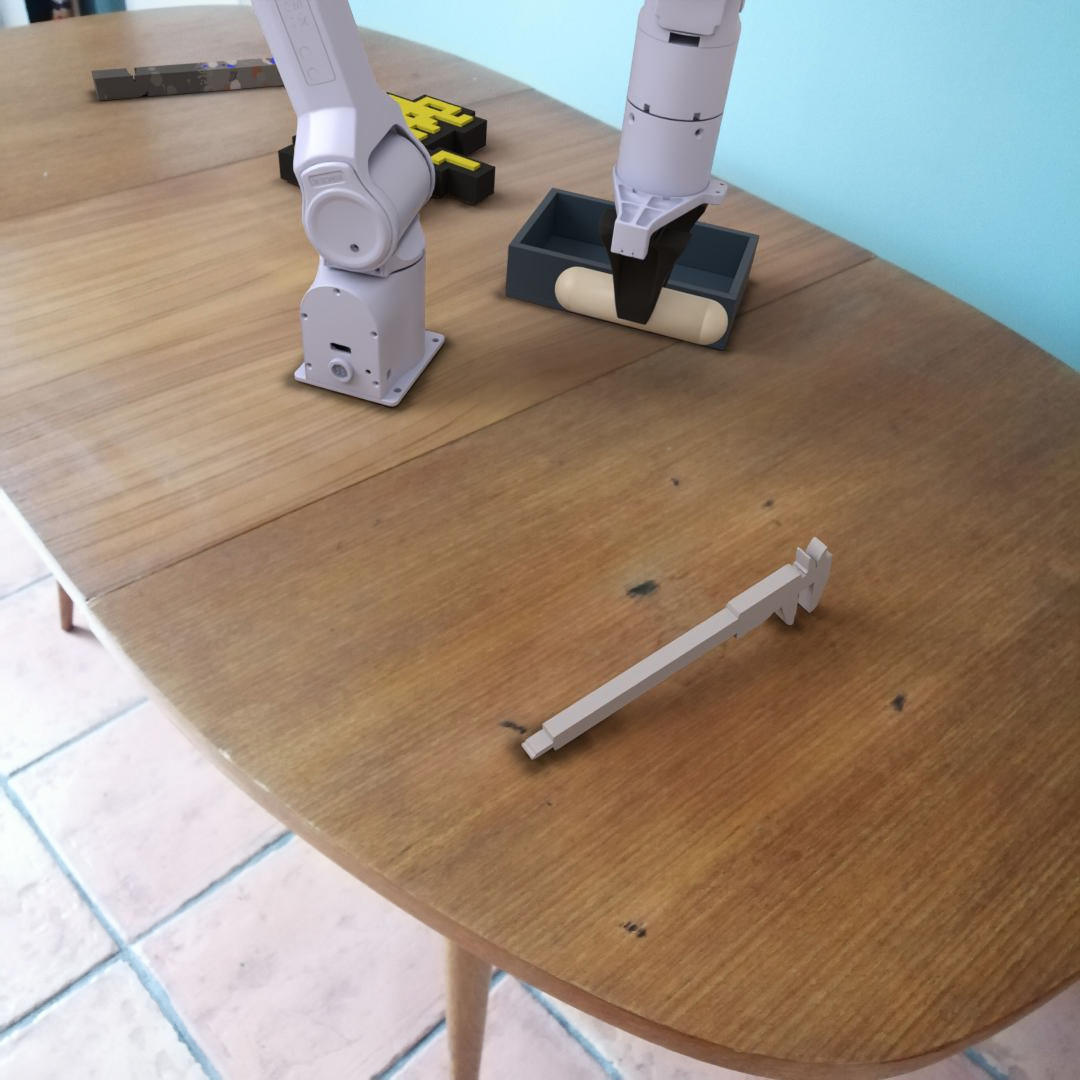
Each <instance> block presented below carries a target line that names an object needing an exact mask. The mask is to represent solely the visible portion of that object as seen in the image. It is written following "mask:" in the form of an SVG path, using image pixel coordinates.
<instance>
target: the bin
mask: <svg viewBox="0 0 1080 1080" xmlns="http://www.w3.org/2000/svg"><path fill="white" fill-rule="evenodd" d="M607 208H611V209H616V207H615V201H614V200H613V201H612V200H608V199H603V198H600V197H595V196H591V195H587V194H582V193H578V192H574V191H570V190H565V189H562V188H561V189H560V188H556V187H551V189H550V190H549V191H548V192H547V194H546V195H545V196H544V198H543V199H542V201H540V203H539V204H538V205H537V207H535V210H534V211H533V212H532V213H531V215H530V216H529V218H528V219H527V220H526V221H525V223H524V224H523V225H522V227H521V228H520V229H519V231H518V232H517V233H516V235H515V236H514V237H513V239H512V240H511V241H510V243H509V244H508V246H507V247H508V248H507V260H506V263H507V264H506V276H505V278H506V279H505V292H504V296H506V297H509V298H513V299H516V300H521V301H525V302H529V303H532V304H536V305H540V306H545V307H548V308H553V309H556V310H560V311H564V312H569V313H572V314H577V315H581V316H583V317H584V316H585V317H588V318H592V319H596V320H600V321H605V322H608V323H612V324H616V325H620V326H624V327H628V328H631V329H635V330H640V331H643V332H644V331H645V332H648V333H652V334H656V335H660V336H664V337H668V338H672V339H676V340H679V341H683V342H688V341H685V340H681V339H677V338H673V337H669V336H665V335H661V334H657V333H654V332H650V331H646V330H642V329H638V328H634V327H630V326H627V325H623V324H619V323H615V322H611V321H607V320H603V319H599V318H596V317H592V316H588V315H584V314H580V313H576V312H572V311H569V310H567V309H565V308H564V307H563V306H562V305H561V304H560V303H559V302H558V300H557V298H556V294H555V284H556V281H557V279H558V277H559V276H560V275H561V273H562V272H564V271H565V270H567V269H568V268H571V267H583V268H587V269H591V270H595V271H599V272H603V273H607V274H611V275H612V269H611V264H610V260H609V257H608V254H607V251H606V248H605V246H604V244H603V242H602V240H601V238H600V236H599V222H600V218H601V216H602V215H603V213H604V212H605V210H606V209H607ZM689 233H692V234H693V236H692V238H691V240H690V242H689V244H688V246H687V247H686V249H685V250H684V252H683V253H682V254H681V255H680V257H679V258H678V259H677V260H676V262H675V265H674V268H673V270H672V273H671V275H670V278H669V280H668V283H667V285H666V287H665V288H667V289H671V290H675V291H679V292H683V293H687V294H691V295H695V296H699V297H703V298H707V299H711V300H714V301H716V302H718V303H719V304H721V305H722V306H723V308H724V309H725V311H726V313H727V317H728V325H727V329H726V332H725V333H724V335H723V336H722V337H721V338H720V339H719V340H718V341H716V342H714V343H712V344H708V345H701V344H698V345H700V346H703V347H707V348H712V349H715V350H719V351H724V350H725V347H726V344H727V341H728V338H729V336H730V333H731V330H732V327H733V324H734V321H735V318H736V316H737V313H738V310H739V308H740V304H741V302H742V299H743V297H744V294H745V291H746V289H747V286H748V284H749V283H748V282H749V279H750V275H751V272H752V266H753V263H754V259H755V254H756V251H757V248H758V244H759V239H760V234H757V233H756V234H755V233H753V232H748V231H743V230H738V229H734V228H730V227H725V226H722V225H717V224H713V223H709V222H704V221H699V220H698V221H697V222H696V223H695V224H694V226H693V227H692V229H691V230H690V232H689ZM688 343H689V342H688ZM690 344H693V343H692V342H690ZM694 344H695V345H697V344H696V343H694Z"/></svg>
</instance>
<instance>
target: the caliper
mask: <svg viewBox="0 0 1080 1080" xmlns="http://www.w3.org/2000/svg"><path fill="white" fill-rule="evenodd" d="M832 563H833V554H832V553H831V552H830V551H829V550H828V546H827V545H826V544H824V543H823V542H822V541H821V540H820V539H819V538H818V537H816V536H813V538H812V539H811V540H810V541H809V543H808V545H807V547H806V549H805V550H804V549H802V548H801V547H800V546H797V548H796V552H795V561H794V562H793V564H790V563H786V564H785V565H783V566H781V567H780V568H779V569H777V570H776V571H774V572H772V573H771V574H769V575H768V576H766V577H765V578H763V579H761V580H759V581H758V582H757V583H755V584H754V585H752V586H750V587H749V588H748V589H746V590H744V591H743V592H741V593H739V594H738V595H737V596H735V597H734V598H732V599H731V600H729V601H728V602H727V603H726V605H725V608H723V609H721V610H720V611H718V612H716V613H715V614H713V615H711V616H710V617H708V618H707V619H706V620H703V621H702V622H701V623H699V624H697V625H696V626H694V627H693V628H691V629H689V630H688V631H686V632H684V634H682V635H680V636H679V637H677V638H675V639H674V640H672V641H670V642H669V643H668V644H666V645H663V647H661V648H659V649H658V650H656V651H655V652H653V653H652V654H650V655H649V656H647V657H645V658H644V659H642V660H641V661H639V662H637V663H636V664H634V665H633V666H631V667H629V668H627V669H626V670H625V671H623V672H622V673H620V674H618V675H617V676H616V677H613V678H612V679H611V680H608V681H607V682H606V683H604V684H602V685H601V686H599V687H597V689H595V690H594V691H592V692H590V693H588V694H587V695H585V696H583V697H582V698H581V699H579V700H577V701H576V702H574V703H573V704H571V705H570V706H567V707H566V708H565V709H563V710H562V711H560V712H559V713H557V714H555V715H553V716H552V717H550V719H548V720H546V721H544V722H543V723H542V729H540V730H538V731H537V732H535V733H534V734H532V735H531V736H529V737H528V738H526V739H525V741H524V742H522V743H521V747H522V748H523V750H524V751H525V752H526V754H527V755H528V757H529V758H530V759H531V760H535V759H537V758H539V757H540V756H542V755H544V754H545V753H546V752H548V751H550V750H551V749H553V750H554V751H557V750H560V749H561V748H563V747H564V746H565V745H567V744H568V743H570V742H572V741H573V740H575V739H576V738H577V737H579V736H580V735H582V734H584V733H585V732H587V731H588V730H590V729H592V728H593V727H595V726H596V725H597V724H599V723H601V722H602V721H604V720H605V719H606V718H609V717H610V716H611V715H613V714H614V713H616V712H617V711H619V710H620V709H622V708H624V707H625V706H627V705H628V704H630V703H631V702H632V701H634V700H636V699H638V698H639V697H640V696H642V695H643V694H645V693H646V692H648V691H649V690H652V689H653V688H654V687H656V686H657V685H659V684H660V683H662V682H663V681H665V680H667V679H669V678H670V677H671V676H673V675H674V674H676V673H678V672H679V671H681V670H682V669H684V668H685V667H687V666H688V665H690V664H692V663H693V662H695V661H696V660H698V659H699V658H701V657H703V656H704V655H705V654H707V653H708V652H711V650H713V649H715V648H716V647H719V645H721V644H722V643H725V642H726V641H728V640H729V639H731V638H732V637H734V639H736V640H740V639H741V638H743V637H744V636H745V635H746V634H748V633H749V632H750V631H752V630H754V629H756V628H758V627H759V626H761V625H762V624H763V623H765V621H767V620H768V619H770V617H772V616H773V615H772V614H773V613H775V614H776V615H777V617H779V618H780V619H781V620H782V621H783V622H784V623H785V624H786V625H787V626H788V625H789V626H792V625H794V622H795V617H796V614H797V611H798V610H797V609H798V604H799V605H800V606H801V607H802V608H803V609H804V610H805V611H807V612H808V613H809V614H811V613H812V611H814V610H815V608H817V607H818V604H819V602H820V600H821V597H822V595H823V593H824V590H825V588H826V585H827V582H828V580H829V578H830V575H831V569H832Z"/></svg>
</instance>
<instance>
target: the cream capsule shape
mask: <svg viewBox="0 0 1080 1080" xmlns="http://www.w3.org/2000/svg"><path fill="white" fill-rule="evenodd" d="M555 294H556V298H557V300H558V302H559V303H560V304H561V305H562V306H563V307H564V308H565V309H567V310H569V311H572V312H576V313H580V314H584V315H588V316H592V317H596V318H599V319H598V320H600V319H603V320H602V321H604V320H607V321H606V322H608V321H611V322H610V323H612V322H615V323H614V324H616V323H619V324H618V325H620V324H623V325H622V326H624V325H627V326H626V327H628V326H630V327H629V328H632V327H634V328H633V329H636V328H638V329H637V330H639V329H642V330H641V331H643V330H646V331H645V332H647V331H650V332H649V333H651V332H654V333H653V334H655V333H657V334H656V335H659V334H661V335H660V336H663V335H665V336H664V337H667V336H669V337H668V338H671V337H673V338H672V339H675V338H677V339H676V340H679V339H681V340H680V341H683V340H685V341H684V342H687V341H688V343H691V342H692V343H691V344H695V343H696V344H695V345H699V344H701V345H700V346H703V345H708V344H712V343H714V342H716V341H718V340H719V339H720V338H721V337H722V336H723V335H724V333H725V332H726V329H727V325H728V317H727V313H726V311H725V309H724V308H723V306H722V305H721V304H719V303H718V302H716V301H714V300H711V299H707V298H703V297H699V296H695V295H691V294H687V293H683V292H679V291H675V290H671V289H667V288H663V287H662V290H661V293H660V296H659V298H658V301H657V304H656V306H655V309H654V311H653V313H652V315H651V317H650V319H649V321H648V322H647V324H646V325H643V324H639V323H635V322H631V321H627V320H623V319H619V318H618V317H617V313H616V307H615V297H614V284H613V275H611V274H607V273H603V272H599V271H595V270H591V269H587V268H583V267H571V268H568V269H567V270H565V271H564V272H562V273H561V275H560V276H559V277H558V279H557V281H556V284H555ZM572 312H571V313H572ZM576 313H575V314H576ZM580 314H579V315H580ZM584 315H583V316H584ZM588 316H587V317H588ZM592 317H591V318H592ZM596 318H595V319H596Z"/></svg>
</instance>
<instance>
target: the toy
mask: <svg viewBox="0 0 1080 1080" xmlns="http://www.w3.org/2000/svg"><path fill="white" fill-rule="evenodd" d="M385 93H387V94H388V95H389V96H391V97H392V98H393V99H394V100H395V101H397V102H398V103H399V105H400V107H401V110H402V113H403V116H404V118H405V121H406V123H407V125H408V127H409V129H410V130H411V131H412V133H413V134H414V135H415V136H416V138H417V139H418V140H419V141H420V142H421V143H422V144H423V145H424V147H425V148H426V150H427V151H428V153H429V155H430V157H431V159H432V162H433V165H434V169H435V186H434V190H433V193H432V195H431V197H434V198H437V199H439V200H442V199H444V198H445V197H446V196H449V197H452V198H455V199H457V200H460V201H462V202H466V203H468V204H471V205H474V206H478V205H479V204H480V203H482V202H483V201H485V200H486V199H488V198H489V197H491V196H492V195H495V187H496V185H495V183H496V169H497V168H496V166H495V165H492V164H489V163H487V162H483V161H481V160H478V159H475V158H472V157H471V155H473V154H475V153H477V152H478V151H480V150H482V149H483V148H485V147H486V146H487V137H488V135H487V133H488V120H487V119H485V118H483V117H479V116H476V110H474V109H470V108H467V107H464V106H462V105H461V106H460V105H458V104H455V103H451V102H449V101H446V100H443V99H439V98H436V97H434V96H431V95H427V94H421V95H420V96H418V97H416V98H414V99H409V98H407V97H404V96H402V95H398V94H395V93H392V92H389V91H385ZM291 141H292V144H290V145H289V144H288V145H287V146H285V147H283V148H281V149H279V150H277V155H278V166H279V175H280V179H281V180H283V181H285V182H289V183H292V184H294V185H297V186H299V187H300V185H299V183H298V180H297V178H296V175H295V173H294V170H293V160H294V151H295V142H296V134H295V135H293V136H291Z"/></svg>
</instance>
